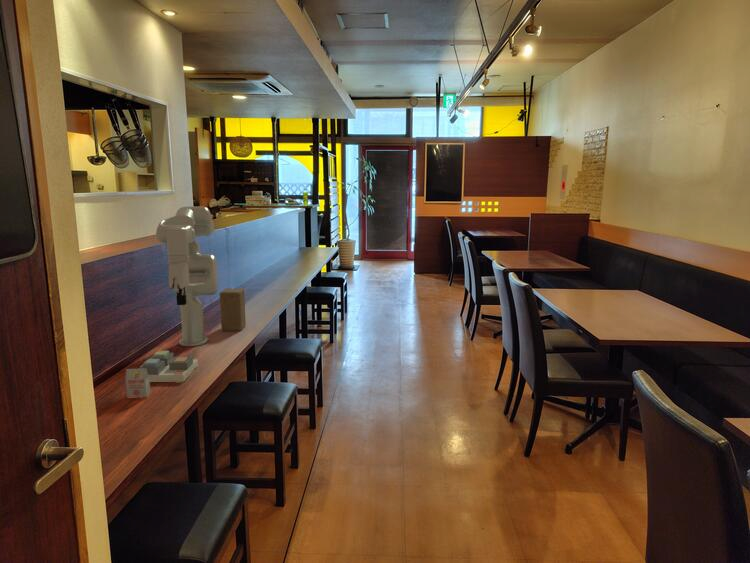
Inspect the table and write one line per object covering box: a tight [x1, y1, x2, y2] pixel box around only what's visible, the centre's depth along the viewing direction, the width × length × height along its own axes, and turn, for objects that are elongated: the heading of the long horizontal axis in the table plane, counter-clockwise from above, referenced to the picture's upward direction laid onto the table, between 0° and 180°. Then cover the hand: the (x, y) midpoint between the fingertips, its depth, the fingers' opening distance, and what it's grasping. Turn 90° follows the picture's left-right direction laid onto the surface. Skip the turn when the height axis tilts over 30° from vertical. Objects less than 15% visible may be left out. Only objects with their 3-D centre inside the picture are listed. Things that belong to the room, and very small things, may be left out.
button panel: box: [138, 352, 199, 382], centre depth 183 cm, size 16×16×6 cm
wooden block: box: [219, 288, 247, 332], centre depth 242 cm, size 10×10×20 cm
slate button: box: [143, 358, 160, 366], centre depth 178 cm, size 4×4×2 cm
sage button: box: [153, 350, 170, 358], centre depth 187 cm, size 4×4×2 cm
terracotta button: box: [173, 357, 189, 362], centre depth 183 cm, size 4×4×2 cm
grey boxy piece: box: [124, 368, 152, 398], centre depth 164 cm, size 4×7×10 cm, turn 96°
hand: (181, 304), depth 189 cm, fingers closed
